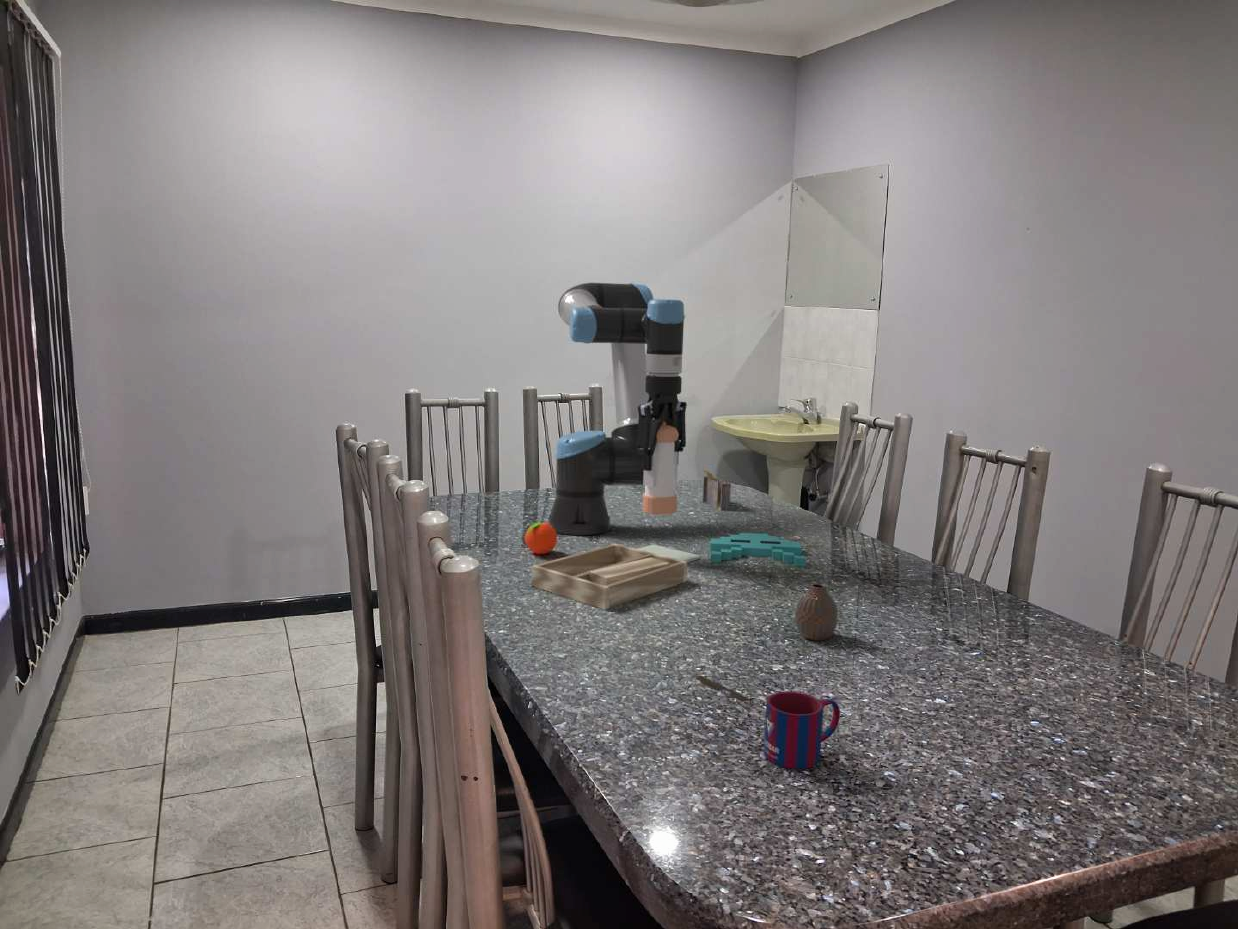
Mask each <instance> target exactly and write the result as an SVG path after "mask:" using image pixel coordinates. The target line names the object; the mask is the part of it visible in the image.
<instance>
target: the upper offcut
mask: <svg viewBox="0 0 1238 929" xmlns="http://www.w3.org/2000/svg"><path fill="white" fill-rule="evenodd" d="M668 565H669V563H667V562H664V561H661V560H658V559H655V558H646V559H642V560H638V561H633V562H629V563H625V564H620V565H616V566H612V567H607V568H603V569H598V570H594V571H590V572H589V581H591V582H594V583H598V584H601V585H604V586H606V585H609V584H612V583H615V582H618V581H621V580H625V579H628V578H631V577H634V576H637V575H640V574H643V573H646V572H650V571H653V570H656V569H659V568H662V567H665V566H668Z"/></svg>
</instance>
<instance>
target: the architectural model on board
mask: <svg viewBox="0 0 1238 929" xmlns="http://www.w3.org/2000/svg"><path fill="white" fill-rule="evenodd" d="M702 471H703V473H704V474H706V476H703V480H702V481H703V483H702V484H703V487H702V488H703V489H702V502H703V503H705V504H706V503H707V504H706V505H708V504H709V506H710V505H711V506H710V507H712V508H715V509H716V510H718V509H720V510H727V511H730V506H731V486H732V484H731V483H729V482H727V481H724V480H722V479H720V478H717V477H715V476H714V475H713V473H711V472H710V471H707V470H705V469H703V470H702ZM720 510H719V511H720Z"/></svg>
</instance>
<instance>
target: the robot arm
mask: <svg viewBox="0 0 1238 929" xmlns="http://www.w3.org/2000/svg"><path fill="white" fill-rule="evenodd" d="M557 309H558V314H559V316H560V318H561V320H562V321H563V322H564V323H565V324H566V325H568V326H569V335H570V337H569V338H570V339H571V341H572V342H575V343H581V344H582V343H583V344H611V346H610V348H611V360H612V361H611V363H612V375H613V377H612V379H613V388H614V402H615V405H614V406H615V417H616V418H615V420H616V425H615V427H614V428H613V429H612V431H611V432H610V435H611V436H609V437H607V434H606V433H605V431H604V430H585V431H577V432H571V433H567V434H563V436H561V437H560V438H559V439H558V440H557V442H556V452H555V459H556V460H555V461H556V462H555V464H556V466H555V467H556V471H555V472H556V473H555V474H556V475H555V498H554V502H553V504H552V508H551V512H550V515H549V516H548V520H547V523H548V524H550V525H551V526H552V527H553V528H554V529H555V531H556V533H557V534H562V535H569V534H570V535H571V536H592V535H599V534H603V533H607V532H609V531H610V530H611V522H612V520H611V517H610V516H609V512H608V508H607V504H606V500H605V487H606V486H641V487H645V485H646V486H651V487H655V486H656V455H653V454H654V451H655V447H656V443H657V433H658V430H659V429H660V426H661V425H662V424H663V422H666V425H669V426H672V427H674V428H676V429H677V431H678V434H679V436H678V439H677V440H676V441H674V442H675V446H674V465H675V474H676V483H677V482H678V465H679V457H680V455H679V453H681V452H682V453H683V451H684V448H685V447H686V446H687V438H686V437H687V435H686V433H687V432H686V430H687V428H686V411H687V406H688V404H687V402H686V401H680V400H679V399H678V398H679V397H678V395H680V394H681V393H682V385H683V384H682V382H683V378H682V377H681V376H680V374H682V371H683V349H684V326H685V325H684V324H685V322H684V321H685V318H686V317H685V316H686V315H685V305H684V302H683V301H682V300H680V299H661V298H659V299H658V298H657V299H654V295H653V293H652V290H651V289H650V288H649V287H648V286H647V285H644V284H637V283H633V282H630V283H611V282H610V283H608V282H607V283H606V282H604V283H603V282H585V283H580V284H577V285H575V286H573V287H569V289H567V290H566V291H565V292H564V293H563V294H562V295H561V297H560V298H559V301H558V306H557Z"/></svg>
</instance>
